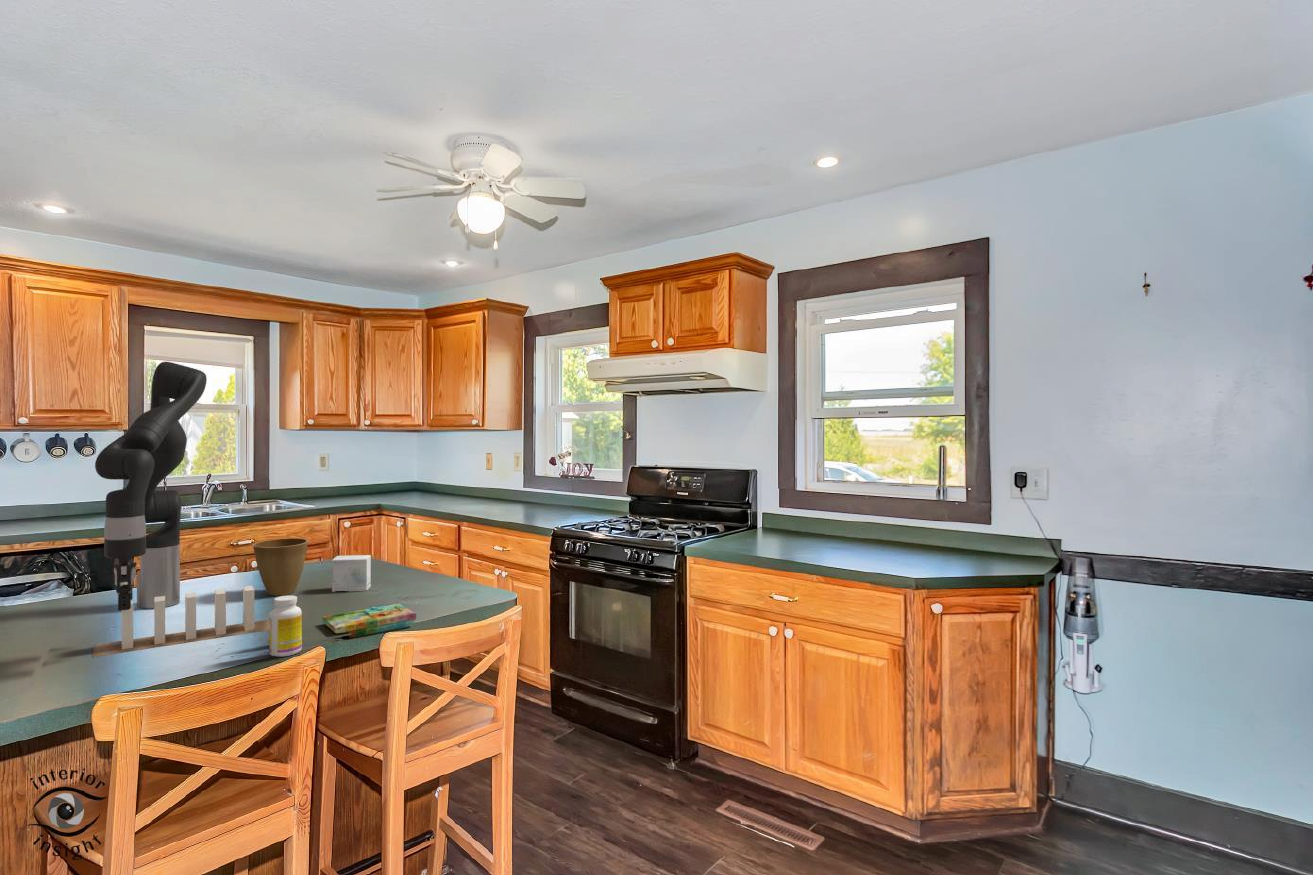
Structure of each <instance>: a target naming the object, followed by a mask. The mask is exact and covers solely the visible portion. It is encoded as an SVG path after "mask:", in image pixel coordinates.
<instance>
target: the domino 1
mask: <svg viewBox="0 0 1313 875" xmlns="http://www.w3.org/2000/svg"><path fill="white" fill-rule="evenodd" d="M133 639H134V599H132V600H131V608H130V609H129V610H122V611H121V641H122V649H128V648H133Z"/></svg>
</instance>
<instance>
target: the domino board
mask: <svg viewBox="0 0 1313 875" xmlns="http://www.w3.org/2000/svg"><path fill="white" fill-rule="evenodd" d="M266 631H269V619H264V620H257V621H254V630H248V631H245V630H244V627H243V622H242V623H237V624H228V625H226V634H221V635H216V632H215V626H214V627H209V628H201V629H196V638H195V639H188V640H186V635H185V631H180V632H174V633H168V634H167V633H165V643H162V644H155V635H154V636H153V635H152V636H145V637H140V638H139V637H138V638H133V648H128V649H122V640H120V641H111V642H105V643H98V644H95V645H94V649H93V652H92V655H91V658H96V657H103V656H108V655H115V654H116V655H117V654H123V653H130V652H136V651H142V650H147V649H148V650H149V649H153V648H154V649H155V648H161V647H168V646H175V645H181V644H189V643H196V642H201V641H206V640H209V641H210V640H215V639H219V638H220V639H221V638H228V637H233V636H239V635H246V634H247V635H248V634H255V633H258V632H259V633H260V632H261V633H262V632H266Z"/></svg>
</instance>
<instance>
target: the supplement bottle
mask: <svg viewBox="0 0 1313 875" xmlns="http://www.w3.org/2000/svg"><path fill="white" fill-rule="evenodd" d="M297 602H298V597H297V596H296V595H282V596H276V597H275V598H273V604H274V609H272V610H271V611H270V612H269V616H268V620H269V630H268V631H269V632H268V633H269V635H268V636H269V637H268V640H269V641H268V642H269V643H268V645H269V648H268V650H269V655H271V656H272V657H279V658H281V657H289V656H293V655H296V654H298V653H300V652H301V650H302V648H303V641H302V640H303V634H302V633H303V631H302V630H303V629H302V628H303V625H302V624H303V623H302V620H303V619H302V618H303V616H302V614H303V613H302V609H301V608H300V607H299V606H297Z"/></svg>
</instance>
